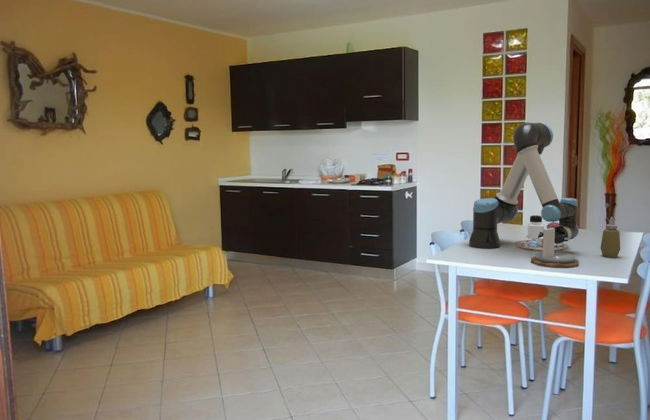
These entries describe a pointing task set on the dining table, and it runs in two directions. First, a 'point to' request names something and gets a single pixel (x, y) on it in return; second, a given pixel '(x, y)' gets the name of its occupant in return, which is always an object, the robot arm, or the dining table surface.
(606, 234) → the squeeze bottle
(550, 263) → the base
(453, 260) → the dining table surface
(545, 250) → the dial
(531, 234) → the medicine bottle
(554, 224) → the cupcake
